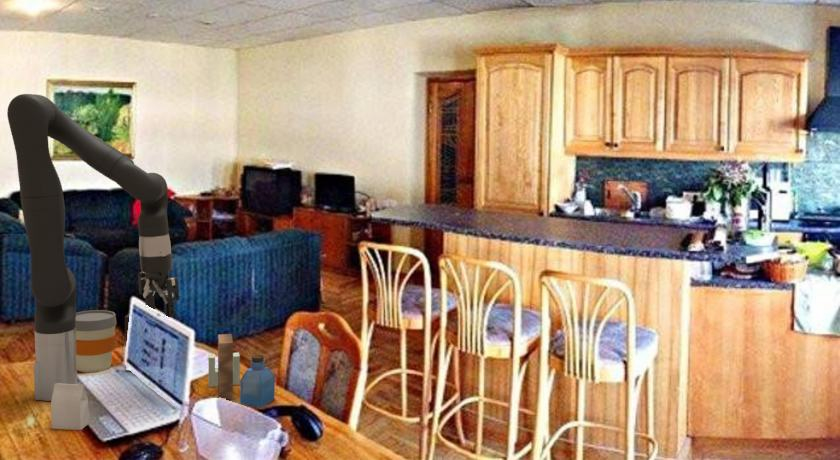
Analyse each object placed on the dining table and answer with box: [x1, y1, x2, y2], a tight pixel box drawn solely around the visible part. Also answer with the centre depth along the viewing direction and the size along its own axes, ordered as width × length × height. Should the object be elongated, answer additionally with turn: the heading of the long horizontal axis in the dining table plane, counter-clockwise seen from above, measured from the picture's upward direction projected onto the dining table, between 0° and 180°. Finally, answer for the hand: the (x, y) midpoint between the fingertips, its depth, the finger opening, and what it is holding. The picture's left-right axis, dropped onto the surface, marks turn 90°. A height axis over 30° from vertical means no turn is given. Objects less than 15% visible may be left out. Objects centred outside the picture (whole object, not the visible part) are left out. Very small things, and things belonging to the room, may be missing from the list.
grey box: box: [50, 383, 90, 431], centre depth 165 cm, size 4×7×10 cm, turn 88°
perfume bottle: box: [239, 353, 276, 408], centre depth 184 cm, size 6×6×12 cm
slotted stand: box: [207, 352, 241, 388], centre depth 196 cm, size 8×3×8 cm, turn 108°
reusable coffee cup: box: [75, 309, 118, 373], centre depth 204 cm, size 13×13×15 cm
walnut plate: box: [217, 333, 234, 400], centre depth 188 cm, size 3×8×15 cm, turn 18°
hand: (160, 314), depth 185 cm, fingers open, 8 cm apart
